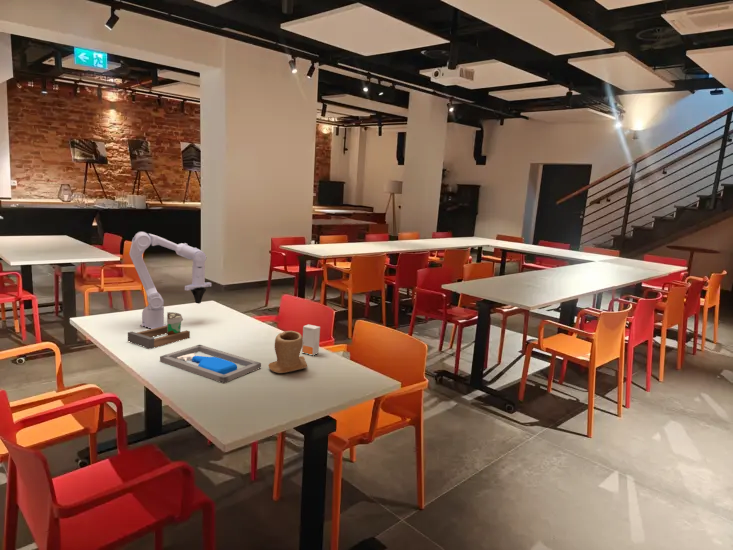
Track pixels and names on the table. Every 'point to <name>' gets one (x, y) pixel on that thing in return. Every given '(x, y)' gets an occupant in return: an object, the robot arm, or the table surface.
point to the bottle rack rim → (172, 360)
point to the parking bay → (165, 339)
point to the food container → (173, 322)
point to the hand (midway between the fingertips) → (198, 303)
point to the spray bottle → (211, 363)
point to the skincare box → (311, 339)
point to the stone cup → (288, 353)
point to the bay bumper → (141, 339)
